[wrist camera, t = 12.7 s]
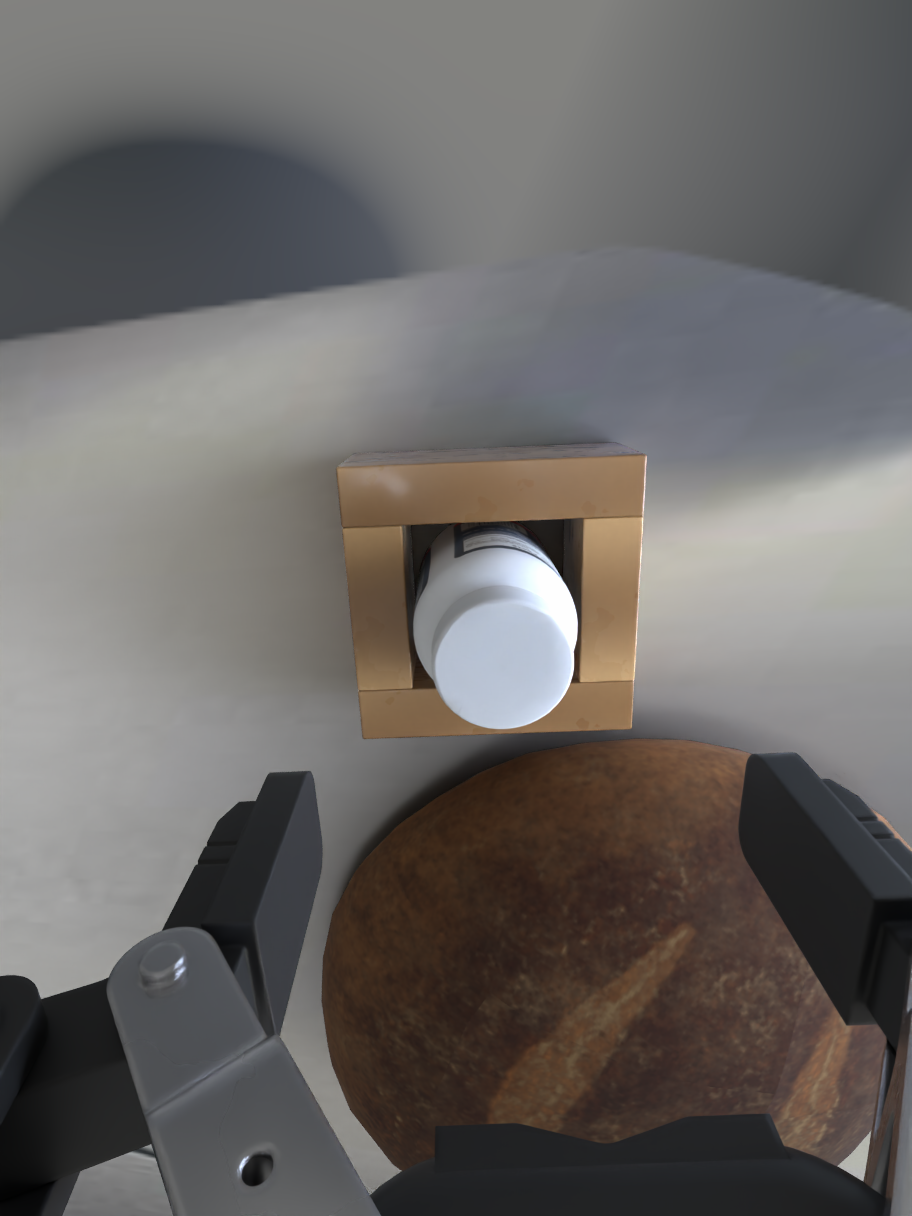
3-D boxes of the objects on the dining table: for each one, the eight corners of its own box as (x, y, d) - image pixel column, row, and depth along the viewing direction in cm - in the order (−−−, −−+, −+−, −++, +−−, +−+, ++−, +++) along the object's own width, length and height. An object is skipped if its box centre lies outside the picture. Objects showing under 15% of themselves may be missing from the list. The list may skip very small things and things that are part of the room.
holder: (353, 453, 25) (335, 467, 21) (617, 442, 25) (647, 454, 21) (374, 691, 28) (362, 739, 24) (608, 682, 28) (631, 729, 24)
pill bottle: (480, 661, 28) (492, 784, 19) (393, 574, 26) (366, 666, 18) (578, 579, 27) (635, 673, 18) (491, 484, 25) (510, 537, 17)
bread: (1023, 838, 31) (1230, 1007, 23) (720, 1185, 39) (791, 1401, 31) (466, 611, 27) (472, 715, 19) (262, 1049, 35) (203, 1255, 27)
